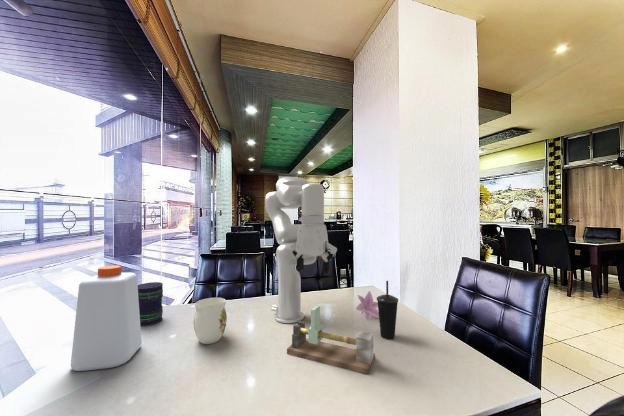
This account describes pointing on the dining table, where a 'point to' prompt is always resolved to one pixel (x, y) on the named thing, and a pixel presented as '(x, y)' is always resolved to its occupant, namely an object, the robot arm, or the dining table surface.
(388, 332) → the drinking cup
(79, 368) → the plastic bottle
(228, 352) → the dining table surface
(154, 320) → the storage jar
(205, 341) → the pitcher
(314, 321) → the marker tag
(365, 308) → the lily
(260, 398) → the dining table surface
